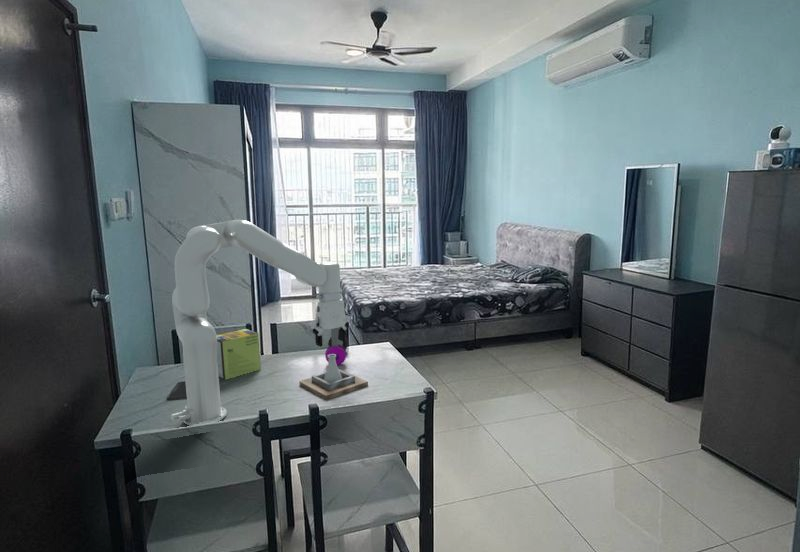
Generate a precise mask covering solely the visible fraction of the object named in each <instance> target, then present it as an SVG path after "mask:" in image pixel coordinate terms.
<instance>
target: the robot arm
mask: <svg viewBox="0 0 800 552" xmlns="http://www.w3.org/2000/svg"><path fill="white" fill-rule="evenodd" d="M231 247H238V248H240V249H242V250H244V251H245V252H247V253H249V254H251V255H252V256H254V257H255V258H257V259H259V260H260V261H263V262H264V263H266V264H267V265H269V266H271V267H274V268H276V269H279V270H282V271H284V272H286V273H288V274H291V275H292V276H294V277H295V279H296V280H297V281H298V282H300V283H301V284H303V285H306V286H310V287H313V288H318V294H316V297H315V298H316V299H317V300H318V301H317V304H316V310H315V319H313V320H312V321H311V322H309V323H308V324H307V325H308V327H309V330H310V332H312V334H314V337H315V344H316V346H318V347H321V348H322V347H323V335H322V334H323V332H324V331H328V330H331V329H334V328H340V329H339V340H341V341H345V337H346V331H347V329H348V327H349V324H350V321H351V319H352V317H351V316H349V315H347V314H346V312H345V311H346V310H345V305H344V301H343V299H342V298H341V269H340V268H341V267H340V264H339V263H338V262H337V261H322V262H316V261H315V260H313V259H312V258H310V257H309V256H307V255H305V254H303V253H301V252H300V251H298V250H296V249H295V248H293V247H291V246H290V245H288V244H286V243H285V242H283V241H281V240H279V239H277V238H276V237H274V236H273V235H271V234H270V233H268V232H267V231H265V230H263V229H262V228H260V227H258V226H257V225H256V224H254V223H252V222H250V221H248V220H244V219H232V220H227V221H222V222H215V223H210V224H203V225H198V226H195V227H191V229H190V230H189V231H187V233H186V237H185V240H184V241H182V243H181V245H180V246H179V247H178V250H177V251H176V254H175V257H174V276H175V288H174V289H173V292H172V295H171V303H172V310H173V311H172V313H173V317H174V325H175V330H176V334H177V336H178V338H179V341H180V342H181V344H182V352H183V353H182V354H183V358H182V359H183V370H184V381H185V383H186V394H187V399H186V401H187V403H186V404H187V405H184V409H182V410H181V411H180V412H174V413H172V414H171V415H170V418H171V421H176V420H178V421H179V422H182V421H183V424H184V423H185V424H187V425H193V424H199V422H203V421H207V420H209V421H210V420H213V419H220V418H223V417H225V416H226V417H227V415H228V412H227V409H226V408H225V407H223V406H222V404H221V401H222V400H221V392H220V391H221V389H220V379H219V378H220V377H219V376H218V365H217V335H218V334H217V332H216V330H215V327H214V326H213V325H212V324H211V323H210V322H209V321H208V316H207V311H208V309H209V308H210V303H211V300H210V293H209V287H208V286H209V285H208V280H207V279H208V277H207V263H208V261H209V259H210V257H212V255H214V254H215V253H217V252H218V251H219V250H223V249H227V248H231ZM315 326H316V328H315ZM226 417H225V418H226ZM185 424H184V425H185ZM187 425H186V426H187Z"/></svg>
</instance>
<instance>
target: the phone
mask: <svg viewBox="0 0 800 552" xmlns="http://www.w3.org/2000/svg"><path fill="white" fill-rule="evenodd" d="M179 398H187V394H186V383H185V380H184V381H179V382H177V383H176V384H175V385H174V387H173V388H172V389H171V391H170V392H169V393H168V395H167V396H166V400H167V399H175V400H177V399H179Z"/></svg>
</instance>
